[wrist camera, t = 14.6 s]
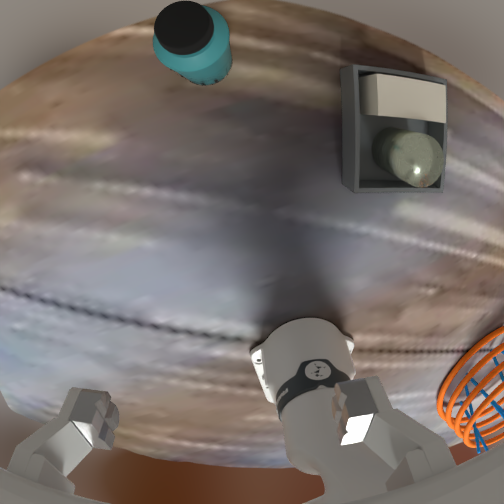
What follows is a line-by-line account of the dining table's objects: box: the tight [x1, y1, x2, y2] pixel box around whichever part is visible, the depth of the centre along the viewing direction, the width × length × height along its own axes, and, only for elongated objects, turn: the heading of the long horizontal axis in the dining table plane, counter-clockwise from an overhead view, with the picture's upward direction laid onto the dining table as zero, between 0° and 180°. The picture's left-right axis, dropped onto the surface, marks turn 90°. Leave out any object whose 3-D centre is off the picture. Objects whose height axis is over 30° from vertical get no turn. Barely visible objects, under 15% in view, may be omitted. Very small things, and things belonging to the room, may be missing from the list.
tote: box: [340, 64, 447, 193], centre depth 36 cm, size 16×14×5 cm
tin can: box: [372, 127, 444, 188], centre depth 35 cm, size 6×6×8 cm
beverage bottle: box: [153, 1, 232, 86], centre depth 25 cm, size 6×7×20 cm
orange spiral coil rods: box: [437, 326, 504, 453], centre depth 54 cm, size 34×35×24 cm
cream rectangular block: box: [358, 74, 446, 123], centre depth 33 cm, size 5×10×6 cm, turn 93°
